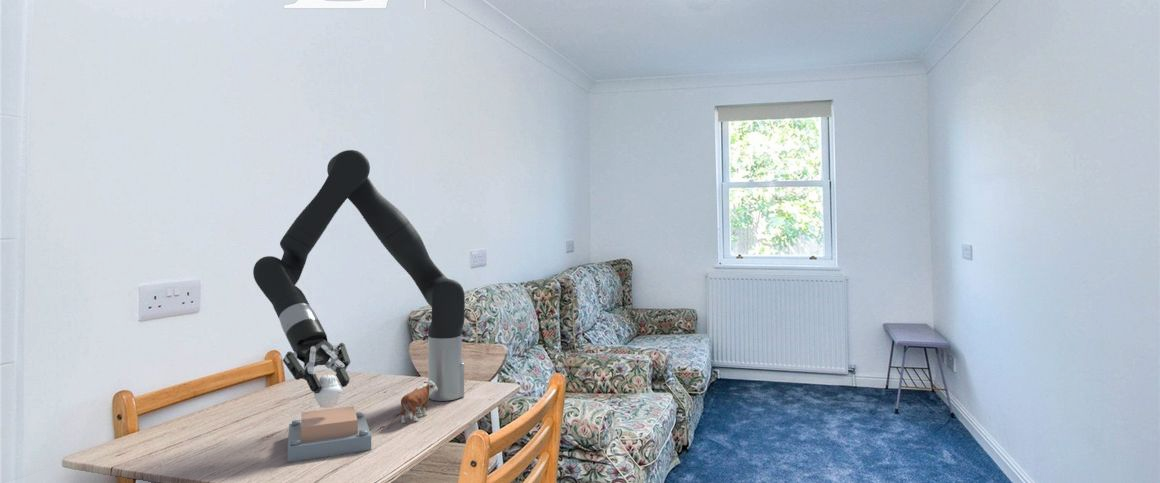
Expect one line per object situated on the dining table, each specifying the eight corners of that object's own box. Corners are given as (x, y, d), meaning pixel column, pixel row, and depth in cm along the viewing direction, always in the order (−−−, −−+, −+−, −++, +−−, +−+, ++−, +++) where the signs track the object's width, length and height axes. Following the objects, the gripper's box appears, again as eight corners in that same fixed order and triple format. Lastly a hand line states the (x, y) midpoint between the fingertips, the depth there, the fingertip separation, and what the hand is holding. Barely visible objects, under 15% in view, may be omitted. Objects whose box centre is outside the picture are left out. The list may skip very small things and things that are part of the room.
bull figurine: (440, 410, 153) (440, 379, 153) (409, 426, 140) (409, 392, 140) (426, 408, 154) (426, 377, 154) (394, 424, 142) (394, 391, 142)
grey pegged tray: (364, 426, 140) (364, 401, 140) (371, 449, 126) (371, 421, 125) (289, 437, 133) (289, 410, 133) (287, 462, 119) (287, 432, 119)
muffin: (311, 403, 131) (311, 372, 130) (341, 400, 133) (341, 369, 133) (313, 411, 125) (313, 378, 125) (344, 407, 128) (344, 375, 128)
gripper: (277, 321, 127) (308, 384, 121) (337, 313, 139) (368, 371, 133) (264, 342, 130) (294, 405, 124) (324, 333, 142) (354, 390, 136)
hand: (332, 387), depth 128 cm, fingers closed on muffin, 6 cm apart
